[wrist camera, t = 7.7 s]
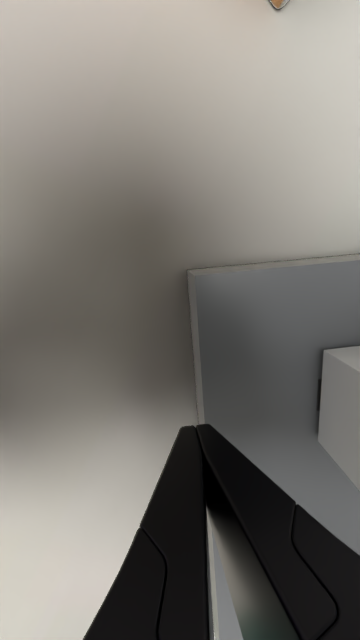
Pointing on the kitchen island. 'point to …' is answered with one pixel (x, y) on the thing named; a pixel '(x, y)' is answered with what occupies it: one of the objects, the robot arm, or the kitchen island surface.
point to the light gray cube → (341, 409)
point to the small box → (278, 3)
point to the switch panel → (275, 383)
